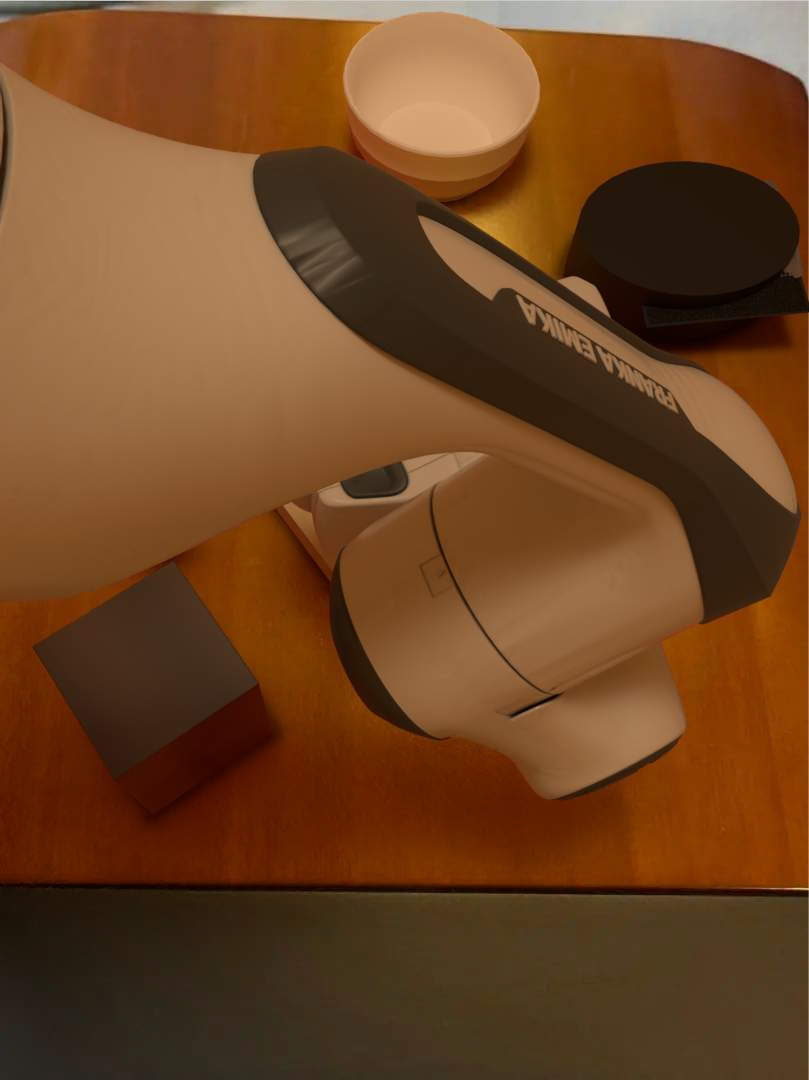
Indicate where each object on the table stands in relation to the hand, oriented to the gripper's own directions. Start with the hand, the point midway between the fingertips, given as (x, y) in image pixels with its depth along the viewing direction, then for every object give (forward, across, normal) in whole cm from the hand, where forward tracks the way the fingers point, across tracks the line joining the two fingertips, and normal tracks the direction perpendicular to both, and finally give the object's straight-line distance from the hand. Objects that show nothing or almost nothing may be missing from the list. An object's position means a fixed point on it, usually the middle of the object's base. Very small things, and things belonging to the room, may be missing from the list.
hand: (385, 271), depth 55 cm
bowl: (+26, -15, +21) cm, 37 cm away
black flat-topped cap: (+7, -29, +21) cm, 37 cm away
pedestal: (-14, +19, +21) cm, 32 cm away
